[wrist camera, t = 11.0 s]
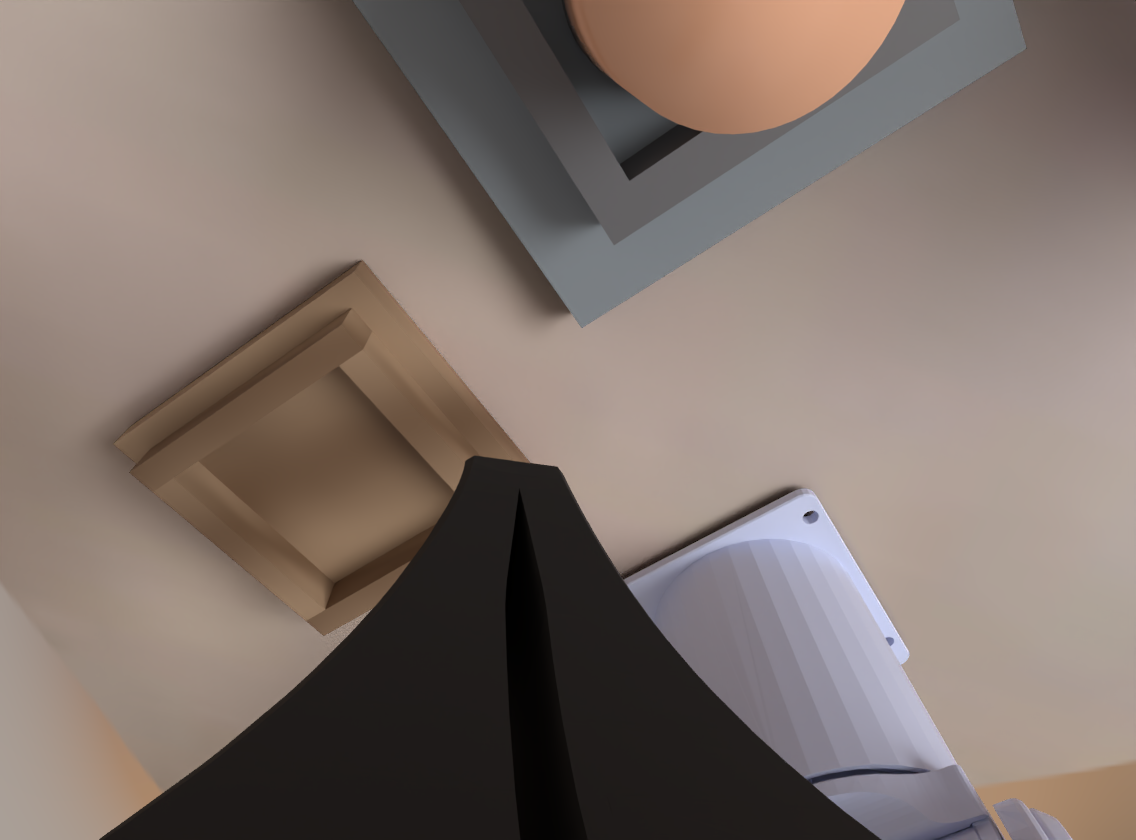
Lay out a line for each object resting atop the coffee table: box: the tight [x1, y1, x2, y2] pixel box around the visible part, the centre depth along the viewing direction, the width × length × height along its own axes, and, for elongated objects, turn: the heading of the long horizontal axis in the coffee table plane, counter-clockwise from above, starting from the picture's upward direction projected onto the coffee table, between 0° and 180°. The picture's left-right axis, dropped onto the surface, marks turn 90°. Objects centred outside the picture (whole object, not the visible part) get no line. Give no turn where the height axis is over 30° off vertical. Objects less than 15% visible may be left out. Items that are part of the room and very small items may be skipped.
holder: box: [114, 260, 530, 636], centre depth 21 cm, size 9×9×2 cm
